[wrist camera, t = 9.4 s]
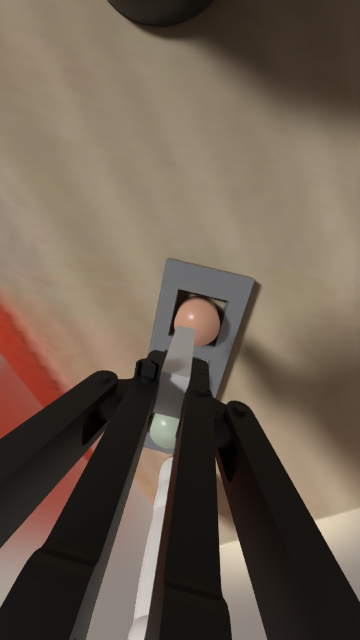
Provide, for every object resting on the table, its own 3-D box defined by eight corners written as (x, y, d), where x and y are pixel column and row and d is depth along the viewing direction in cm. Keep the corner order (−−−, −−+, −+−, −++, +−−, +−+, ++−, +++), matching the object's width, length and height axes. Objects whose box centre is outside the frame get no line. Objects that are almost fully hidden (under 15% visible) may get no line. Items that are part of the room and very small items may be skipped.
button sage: (159, 395, 32) (153, 415, 28) (192, 404, 32) (190, 424, 28) (153, 421, 34) (146, 443, 30) (184, 429, 33) (182, 452, 30)
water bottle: (209, 461, 35) (221, 893, 12) (194, 489, 38) (179, 896, 14) (168, 447, 35) (97, 852, 12) (156, 475, 38) (76, 861, 14)
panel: (169, 257, 26) (166, 258, 24) (251, 277, 26) (254, 279, 24) (134, 433, 35) (130, 443, 33) (194, 448, 35) (194, 460, 33)
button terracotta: (182, 291, 27) (179, 298, 23) (222, 300, 27) (225, 309, 23) (174, 328, 28) (170, 340, 25) (211, 337, 28) (212, 350, 24)
